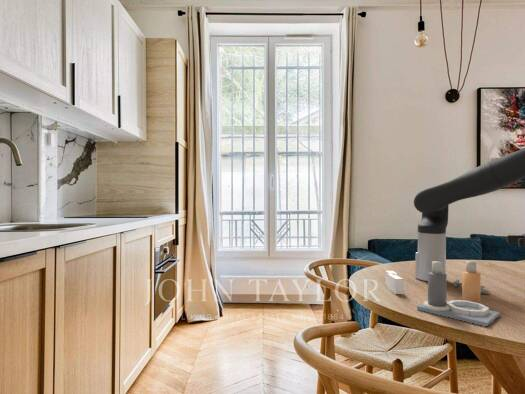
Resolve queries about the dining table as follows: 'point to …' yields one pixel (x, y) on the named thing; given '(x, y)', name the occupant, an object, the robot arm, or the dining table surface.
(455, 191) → the robot arm
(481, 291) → the clamp
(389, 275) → the white stepped block
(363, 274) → the dining table surface
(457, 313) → the bottle holder tray
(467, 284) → the orange lotion bottle
